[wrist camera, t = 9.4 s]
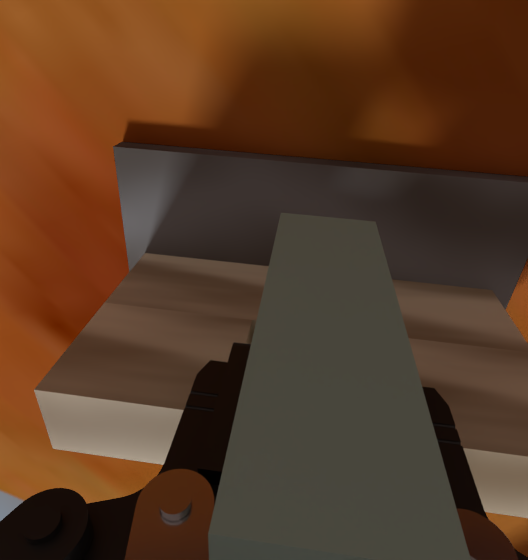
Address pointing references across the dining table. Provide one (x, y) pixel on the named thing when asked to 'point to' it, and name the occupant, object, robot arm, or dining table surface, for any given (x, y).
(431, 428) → the sage crossbar
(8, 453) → the dining table surface
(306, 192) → the stand
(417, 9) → the dining table surface
